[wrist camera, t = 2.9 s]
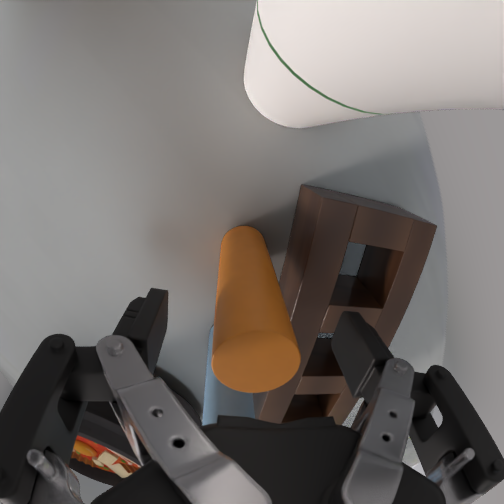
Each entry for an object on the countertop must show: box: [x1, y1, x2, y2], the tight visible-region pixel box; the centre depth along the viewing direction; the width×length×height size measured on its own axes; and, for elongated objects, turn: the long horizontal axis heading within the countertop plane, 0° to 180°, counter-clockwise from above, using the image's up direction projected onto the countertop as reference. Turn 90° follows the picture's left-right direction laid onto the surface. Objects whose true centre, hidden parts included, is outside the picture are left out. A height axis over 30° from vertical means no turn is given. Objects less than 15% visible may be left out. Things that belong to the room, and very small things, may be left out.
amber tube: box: [211, 226, 301, 393], centre depth 15 cm, size 3×3×12 cm
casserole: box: [68, 388, 202, 486], centre depth 23 cm, size 25×19×8 cm
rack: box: [253, 184, 437, 425], centre depth 21 cm, size 9×21×5 cm, turn 170°
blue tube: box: [202, 325, 255, 426], centre depth 18 cm, size 3×3×12 cm
